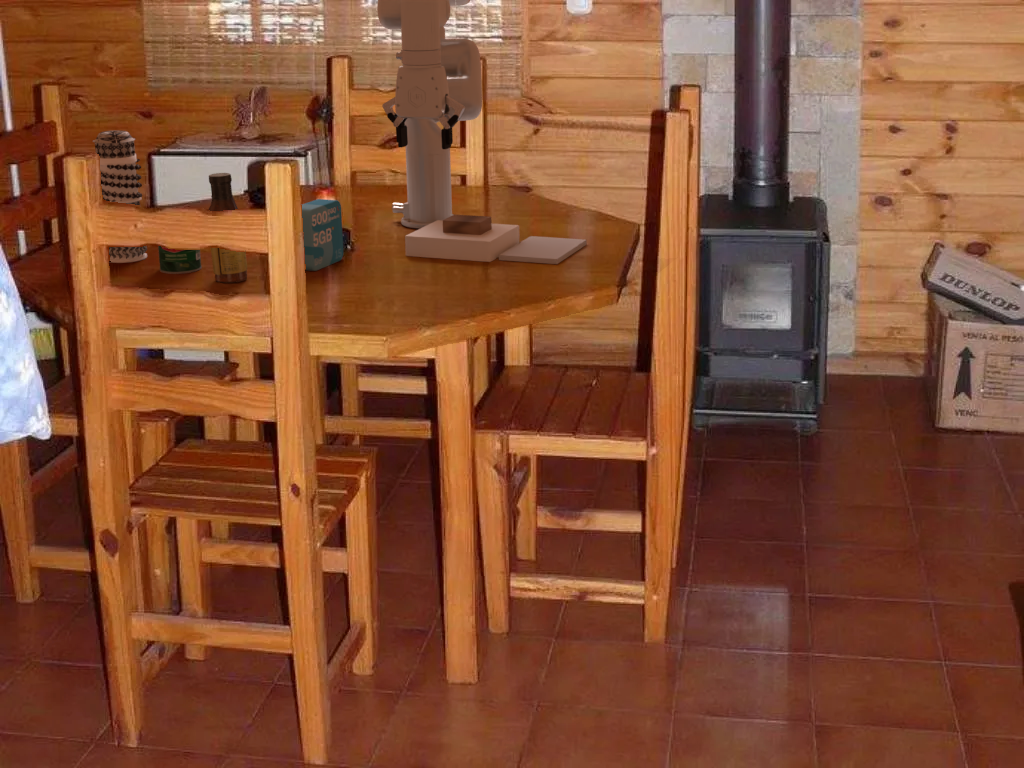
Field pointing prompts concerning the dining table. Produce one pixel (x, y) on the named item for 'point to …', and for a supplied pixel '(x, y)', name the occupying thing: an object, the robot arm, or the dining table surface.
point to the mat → (543, 250)
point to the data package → (322, 233)
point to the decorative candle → (120, 182)
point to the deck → (461, 243)
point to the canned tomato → (179, 260)
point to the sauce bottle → (224, 261)
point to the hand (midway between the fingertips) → (424, 147)
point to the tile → (467, 224)
